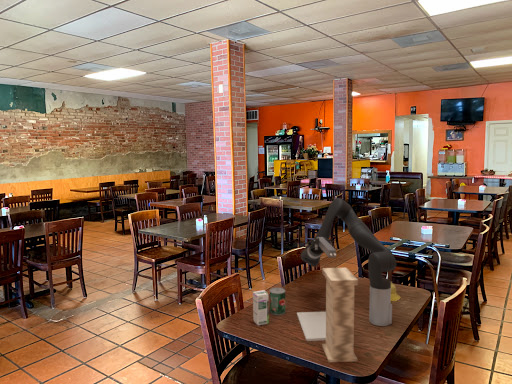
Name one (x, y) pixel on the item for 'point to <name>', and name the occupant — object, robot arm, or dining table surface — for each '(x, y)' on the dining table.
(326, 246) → the dark grey block
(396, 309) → the dining table surface
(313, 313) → the off-white board
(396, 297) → the handbell
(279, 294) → the canned tomato
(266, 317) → the syrup box
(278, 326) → the dining table surface
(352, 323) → the birch stand
